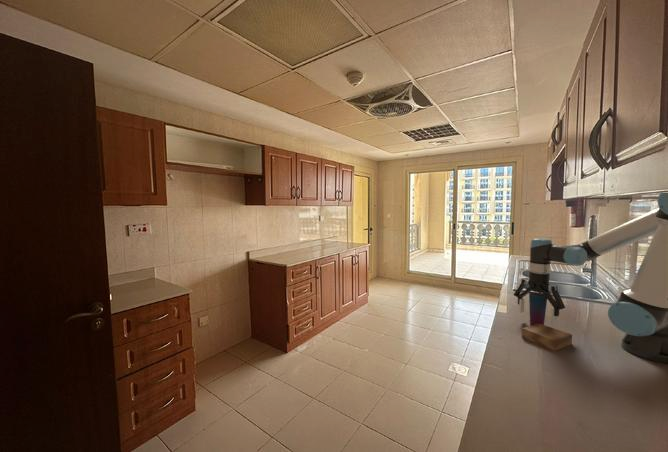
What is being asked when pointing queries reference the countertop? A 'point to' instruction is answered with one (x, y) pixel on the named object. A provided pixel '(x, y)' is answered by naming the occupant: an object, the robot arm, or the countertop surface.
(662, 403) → the countertop surface
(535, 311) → the cup
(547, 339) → the base block
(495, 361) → the countertop surface
